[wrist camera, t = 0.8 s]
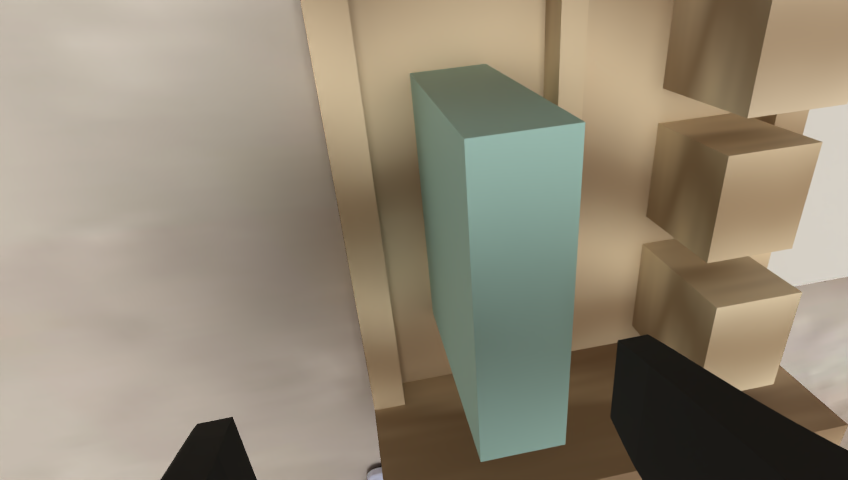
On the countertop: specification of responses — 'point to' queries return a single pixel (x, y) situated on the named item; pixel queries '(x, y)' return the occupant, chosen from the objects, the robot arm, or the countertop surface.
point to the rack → (598, 224)
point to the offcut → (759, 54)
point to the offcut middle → (730, 185)
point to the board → (501, 248)
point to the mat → (821, 207)
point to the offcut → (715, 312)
